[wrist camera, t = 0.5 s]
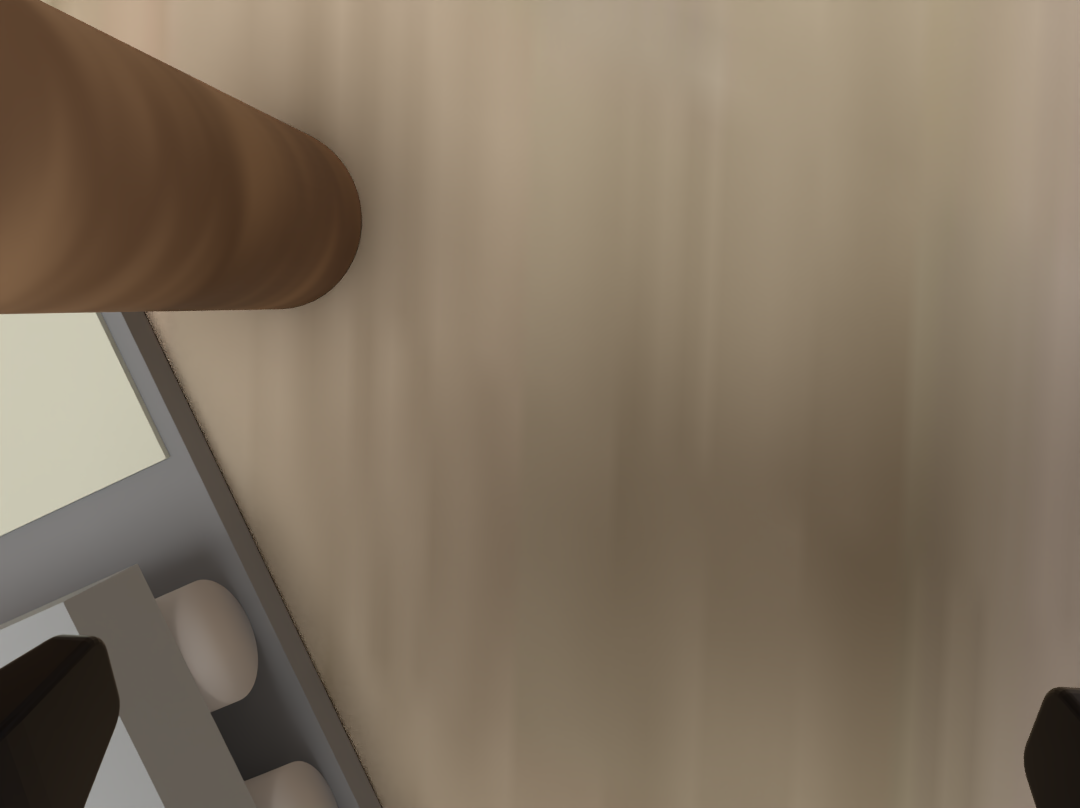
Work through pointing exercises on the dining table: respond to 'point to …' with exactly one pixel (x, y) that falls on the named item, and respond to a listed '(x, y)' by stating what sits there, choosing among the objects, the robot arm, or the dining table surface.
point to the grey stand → (153, 578)
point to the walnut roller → (153, 184)
